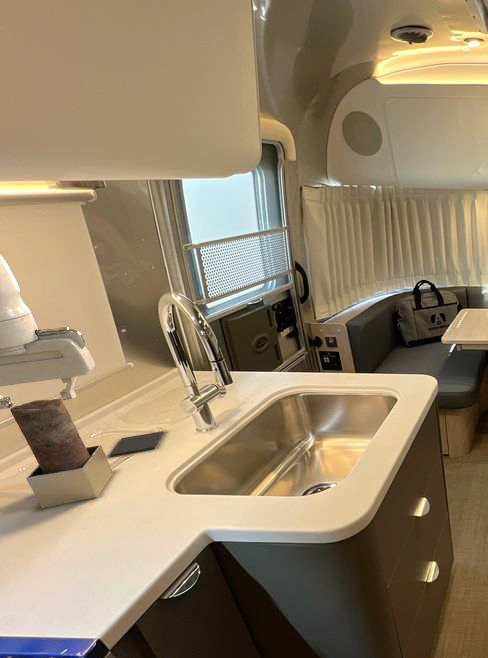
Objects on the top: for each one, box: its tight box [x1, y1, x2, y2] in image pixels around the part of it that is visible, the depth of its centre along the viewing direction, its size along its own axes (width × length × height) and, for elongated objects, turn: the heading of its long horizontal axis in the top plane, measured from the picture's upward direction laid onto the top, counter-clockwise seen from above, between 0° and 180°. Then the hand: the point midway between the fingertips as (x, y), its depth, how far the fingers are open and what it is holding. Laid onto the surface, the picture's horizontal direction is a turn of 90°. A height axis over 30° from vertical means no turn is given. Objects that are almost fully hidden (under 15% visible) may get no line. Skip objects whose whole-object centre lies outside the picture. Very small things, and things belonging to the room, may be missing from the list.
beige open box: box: [26, 444, 114, 509], centre depth 98 cm, size 9×10×7 cm
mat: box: [110, 431, 164, 457], centre depth 116 cm, size 8×8×1 cm
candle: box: [9, 398, 90, 474], centre depth 96 cm, size 8×7×20 cm
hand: (38, 403), depth 92 cm, fingers open, 8 cm apart
